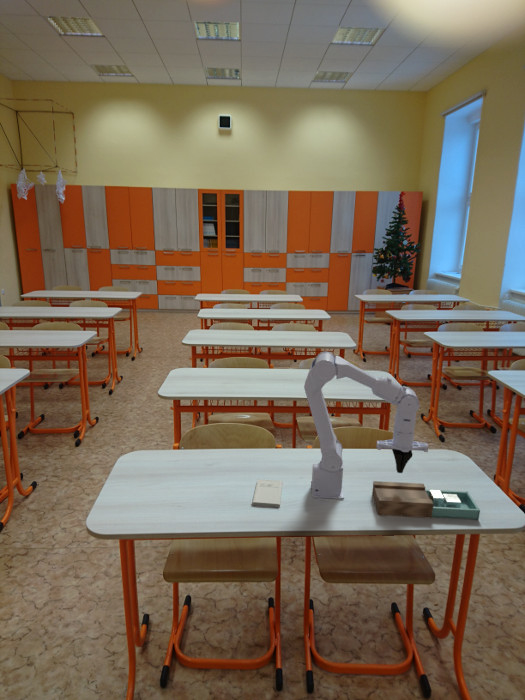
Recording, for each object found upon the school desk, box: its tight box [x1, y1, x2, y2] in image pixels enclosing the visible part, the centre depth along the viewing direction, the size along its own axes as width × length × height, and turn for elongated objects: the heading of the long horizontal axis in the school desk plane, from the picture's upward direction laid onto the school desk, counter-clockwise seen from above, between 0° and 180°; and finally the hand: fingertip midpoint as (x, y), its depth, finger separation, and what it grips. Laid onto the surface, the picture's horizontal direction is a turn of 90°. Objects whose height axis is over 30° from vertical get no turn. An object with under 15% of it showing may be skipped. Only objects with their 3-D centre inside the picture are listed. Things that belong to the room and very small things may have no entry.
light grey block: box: [443, 494, 461, 508], centre depth 129 cm, size 4×4×3 cm
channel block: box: [371, 480, 433, 519], centre depth 130 cm, size 15×10×5 cm, turn 86°
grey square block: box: [428, 489, 444, 507], centre depth 129 cm, size 4×4×3 cm
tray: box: [425, 488, 481, 520], centre depth 129 cm, size 13×9×3 cm
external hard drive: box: [252, 479, 284, 508], centre depth 135 cm, size 2×8×12 cm
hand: (399, 471), depth 131 cm, fingers closed
